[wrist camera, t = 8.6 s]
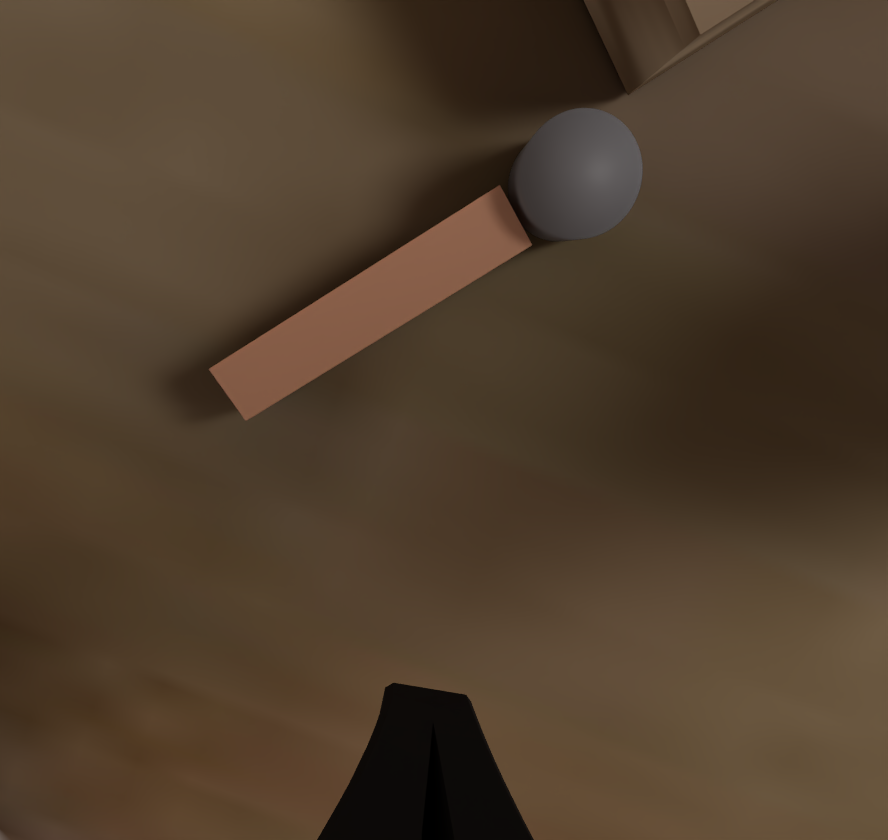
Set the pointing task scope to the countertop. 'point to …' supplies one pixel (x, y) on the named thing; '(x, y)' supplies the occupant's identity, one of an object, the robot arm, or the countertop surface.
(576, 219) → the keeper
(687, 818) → the countertop surface
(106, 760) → the countertop surface
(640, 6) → the block
